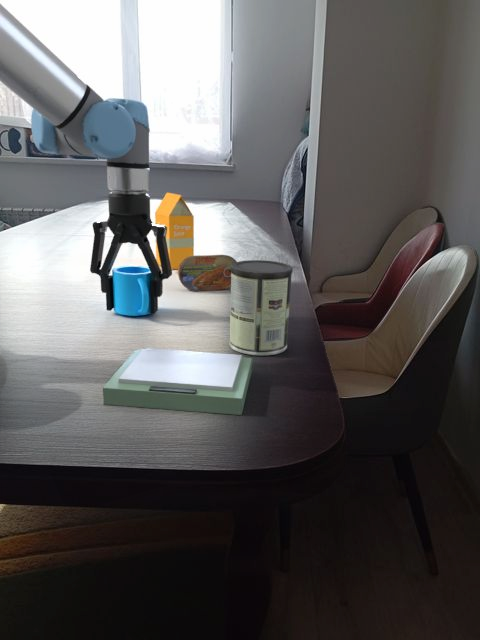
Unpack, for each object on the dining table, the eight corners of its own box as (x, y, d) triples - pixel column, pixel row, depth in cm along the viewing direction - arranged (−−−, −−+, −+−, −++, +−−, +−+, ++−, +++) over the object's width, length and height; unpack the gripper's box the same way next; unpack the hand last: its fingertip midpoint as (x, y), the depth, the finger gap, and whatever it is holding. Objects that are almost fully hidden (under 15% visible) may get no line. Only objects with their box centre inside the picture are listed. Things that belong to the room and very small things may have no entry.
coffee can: (250, 332, 97) (253, 257, 92) (297, 344, 91) (304, 266, 86) (216, 346, 88) (218, 265, 83) (266, 361, 83) (271, 275, 78)
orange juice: (179, 261, 154) (179, 192, 147) (194, 267, 147) (194, 195, 140) (155, 263, 149) (153, 192, 142) (169, 270, 143) (168, 195, 136)
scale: (103, 404, 66) (102, 383, 65) (136, 363, 80) (135, 345, 78) (241, 415, 66) (242, 394, 65) (251, 372, 79) (252, 354, 78)
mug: (109, 306, 105) (107, 266, 103) (147, 303, 109) (147, 265, 107) (125, 322, 96) (124, 279, 93) (167, 318, 100) (167, 277, 97)
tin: (179, 292, 121) (179, 256, 118) (176, 288, 124) (176, 253, 121) (239, 289, 127) (241, 255, 124) (235, 286, 129) (236, 252, 126)
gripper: (189, 194, 98) (188, 309, 106) (81, 187, 99) (88, 301, 107) (180, 197, 91) (180, 319, 99) (64, 189, 92) (73, 311, 100)
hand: (132, 310), depth 103 cm, fingers closed on mug, 8 cm apart
